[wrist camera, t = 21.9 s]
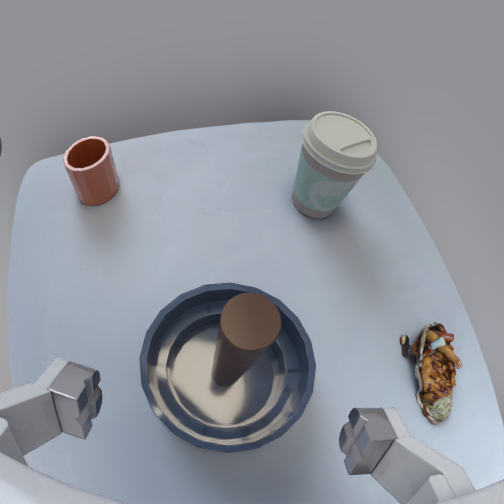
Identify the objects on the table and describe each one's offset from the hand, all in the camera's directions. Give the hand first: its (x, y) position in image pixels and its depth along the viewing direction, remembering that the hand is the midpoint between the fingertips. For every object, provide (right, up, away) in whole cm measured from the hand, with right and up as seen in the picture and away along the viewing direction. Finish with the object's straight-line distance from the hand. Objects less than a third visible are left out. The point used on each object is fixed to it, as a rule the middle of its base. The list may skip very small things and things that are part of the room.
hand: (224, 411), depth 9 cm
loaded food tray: (+22, -10, +23) cm, 34 cm away
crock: (-19, +13, +29) cm, 37 cm away
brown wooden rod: (-2, -7, +20) cm, 21 cm away
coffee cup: (+9, +11, +33) cm, 36 cm away
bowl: (-2, -7, +21) cm, 22 cm away
